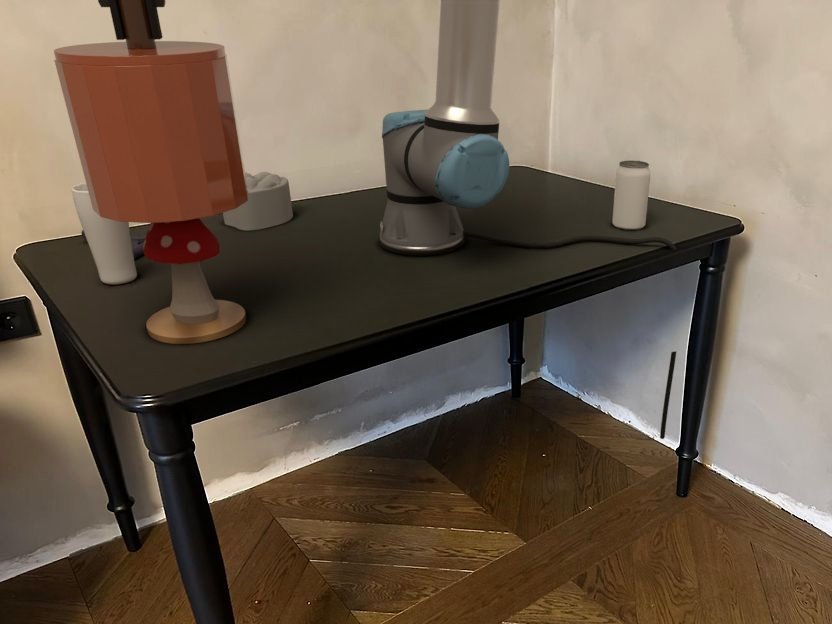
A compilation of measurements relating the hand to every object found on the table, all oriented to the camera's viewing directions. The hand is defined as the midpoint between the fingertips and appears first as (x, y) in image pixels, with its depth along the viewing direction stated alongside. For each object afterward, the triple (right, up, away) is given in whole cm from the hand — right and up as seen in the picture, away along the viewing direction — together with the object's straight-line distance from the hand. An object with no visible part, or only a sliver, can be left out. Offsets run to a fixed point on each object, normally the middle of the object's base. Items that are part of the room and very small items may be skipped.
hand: (139, 38), depth 90 cm
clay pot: (0, -17, +9) cm, 20 cm away
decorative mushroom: (0, -32, +16) cm, 36 cm away
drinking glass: (-19, -25, +31) cm, 44 cm away
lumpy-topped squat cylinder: (-5, -9, +60) cm, 61 cm away
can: (+67, -10, +59) cm, 90 cm away
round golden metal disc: (0, -33, +17) cm, 37 cm away
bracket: (-26, -16, +47) cm, 56 cm away
